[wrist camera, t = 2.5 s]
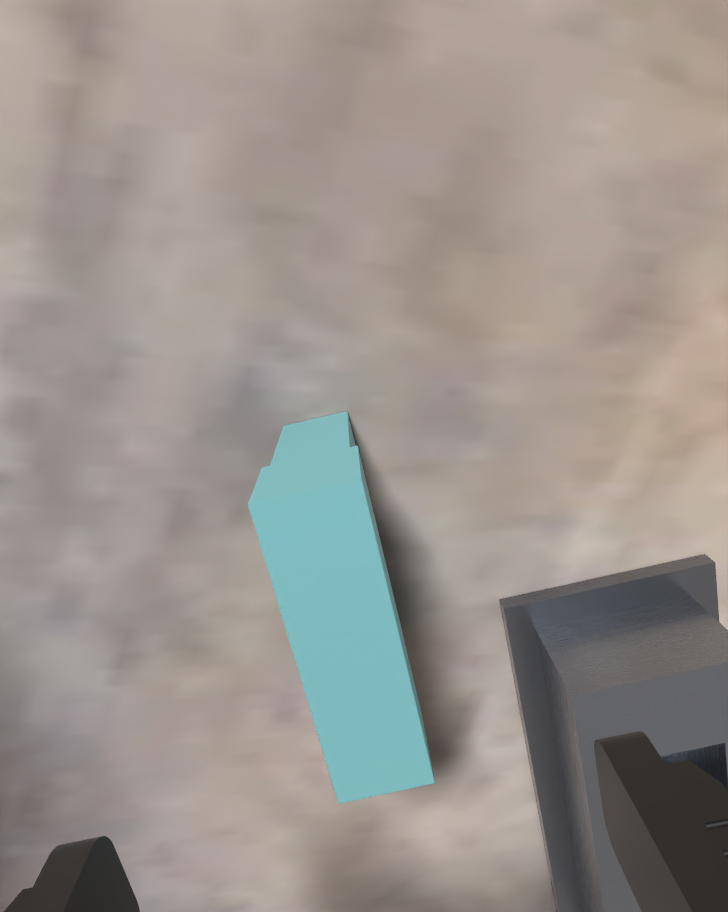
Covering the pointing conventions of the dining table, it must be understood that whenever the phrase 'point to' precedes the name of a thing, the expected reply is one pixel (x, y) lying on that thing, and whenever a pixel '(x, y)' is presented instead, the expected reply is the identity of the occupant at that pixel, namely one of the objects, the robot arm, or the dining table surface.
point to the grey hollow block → (614, 702)
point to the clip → (340, 609)
